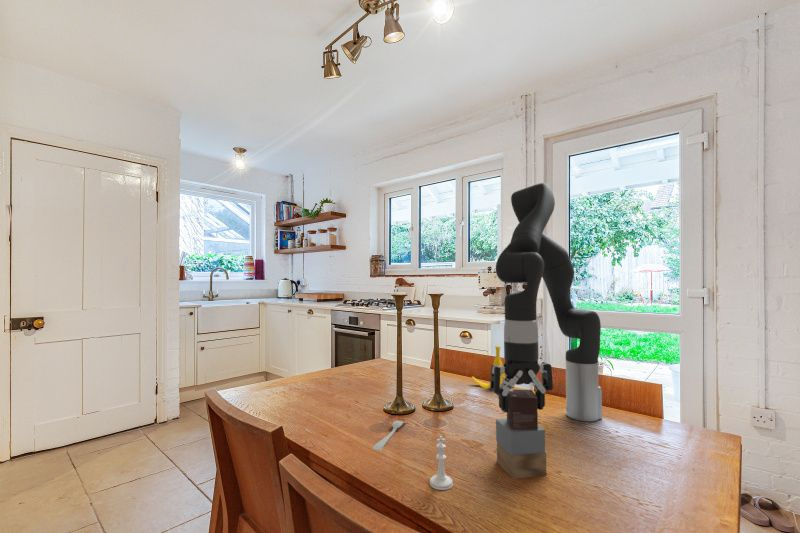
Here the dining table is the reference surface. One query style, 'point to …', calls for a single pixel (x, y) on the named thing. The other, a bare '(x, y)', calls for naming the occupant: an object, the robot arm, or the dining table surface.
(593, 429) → the dining table surface
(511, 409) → the box
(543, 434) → the tower top
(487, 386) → the banana peel
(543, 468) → the tower bottom
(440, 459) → the chess piece
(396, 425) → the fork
